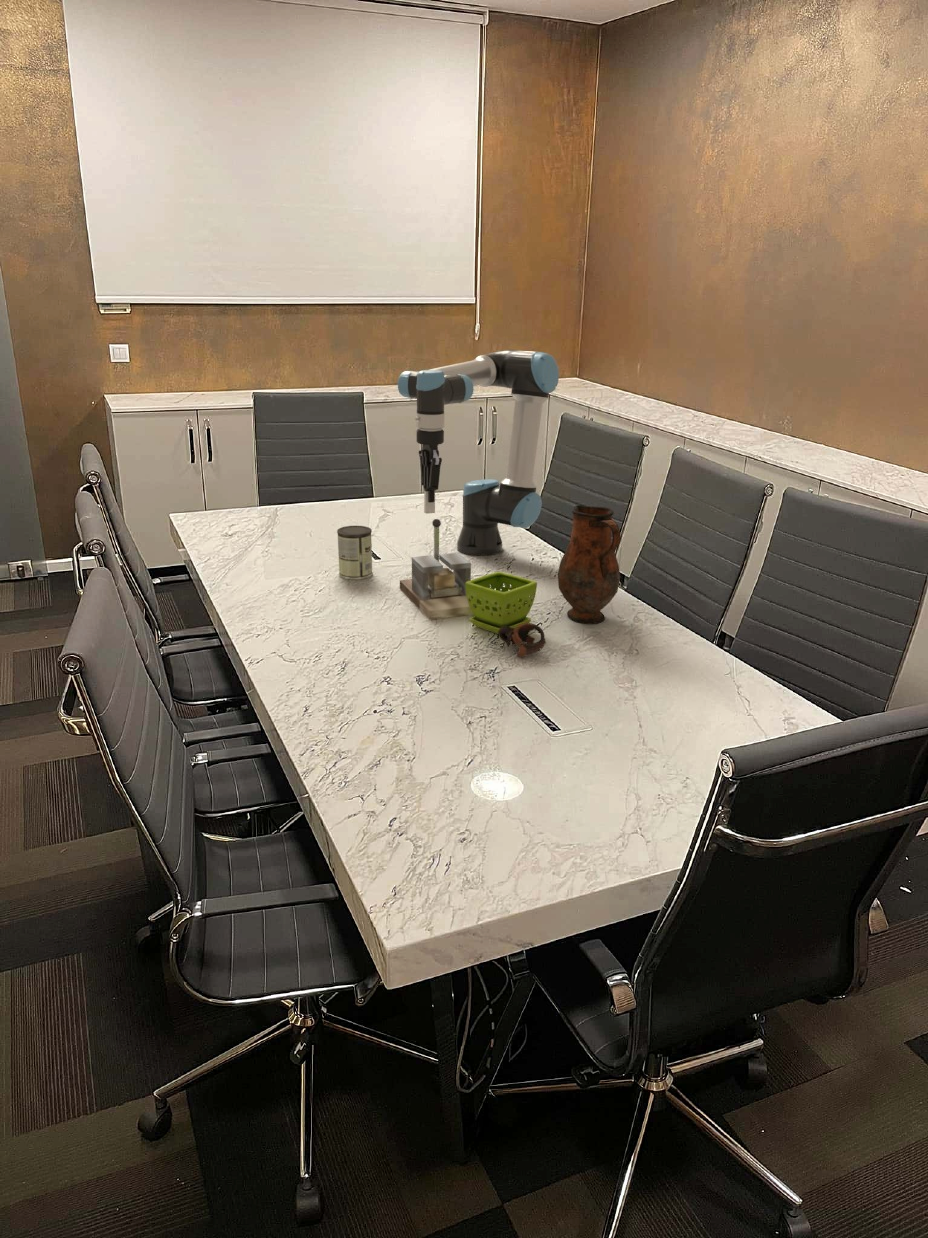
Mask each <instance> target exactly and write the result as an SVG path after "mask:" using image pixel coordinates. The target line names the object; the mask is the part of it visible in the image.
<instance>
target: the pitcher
mask: <svg viewBox="0 0 928 1238" xmlns="http://www.w3.org/2000/svg"><path fill="white" fill-rule="evenodd" d="M571 513H572V518H573V519H572V520H573V521H572V530H571V535H570V540H569V542H568V545H567V547H566V549H565V551H564V553H563V555H562V557H561V560H560V562H559V566H558V570H557V585H558V589H559V591H560V593H561V594H562V596H563V598H564V599H565V600H566V602H567V603H568V604H569V606H571V608H570V609H569V610H568V611H567V614H566V616H567V618H569V619H570V620H571V621H572V622H575V623H580V624H582V625H583V624H584V625H595V624H596V625H597V624H600V623H603V622H604V621H605V619H606V616H605V614H604V612H602V610H603V609H604V608H605V607H606V606H607V605H608V604H609V603H611V602H612V600H613V598H614V597H615V596H616V595H617V593H618V590H619V586H620V582H621V574H620V565H619V563H618V559H617V555H616V553H615V551H616V549H618V547H619V546H620V544H621V531H620V528H619V526H618V524H617V521H615V520H614V519H613V517H614V516H613V515H614V514H615V513H614V510H613V509H612V508H609V507H606V506H593V505H592V506H590V505H583V504H577V505H574V507H573V509H572V511H571Z"/></svg>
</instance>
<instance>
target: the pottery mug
mask: <svg viewBox="0 0 928 1238" xmlns="http://www.w3.org/2000/svg"><path fill="white" fill-rule="evenodd" d="M534 630H535V631H537V632H538V633H539V635H540V639H539V640H538V641H537V642H535V641H536V638H535V637H533V636H531V635H529V633H530V631H534ZM498 633H499V634H498V636H499V638H500V639H501V640H502V641H503V642H504V643H505V644H506V647H510V646H512V647H513V646H515V645H516V646H517V647H518V648H519V649H518V651H517V653H516V656H517V657H519V658H521V659H524V658H525V657H526V656H529V655H533V654H536V653H539V652H540V651H541V650H542V649H543V648H544V646H545V644H547V640H546V638H545V632H544V630H543V629H542V628H541V627H540V626H539V625H538V624H535V623H531V622H530V623H523V624H520V625H519V626H518V627H516V628H511V627H509V626H502V627H501V628H500V629H499V631H498ZM523 643H526V644H525V645H524V644H523Z"/></svg>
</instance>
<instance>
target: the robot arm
mask: <svg viewBox="0 0 928 1238" xmlns="http://www.w3.org/2000/svg"><path fill="white" fill-rule="evenodd" d="M559 377H560V370H559V366H558V363H557V361H556V359H555V358H554V356H552V354H549V353H546V352H541V351H529V350H528V351H527V350H515V349H504V350H499V351H495V352H490V353H485V354H480V355H479V356H477V357H475V358H474V359H473V360H469V361H463V362H460V363H453V364H450V365H444V366H440V367H435V368H430V369H422V370H420V371H415V370H405V371H403V372H401V374H400V375H399V377H398V379H397V390H398V393H399V394H400V395H401V396H402V397H404V398H408V399H410V400H413V399H415V400H416V416H415V418H414V420H415V421H416V427H417V430H416V443H417V444H419V445H422V446H421V450H418V456H419V465H420V468H419V469H420V480H421V481H420V482H421V483H420V484H421V486H423V494H424V497H423V498H424V500H423V502H424V505H423V508H424V509H423V512H424V513H425V515H427V514H435V513H436V491H438V490H439V485H440V474H441V465H442V463H443V462H442V461H443V458H442V457H440V452H439V445H442V444H443V443H444V442H445V431H444V429H443V428H445V406H446V405H452V404H462V403H464V402H467V401H469V400H470V399H471V398H472V396H473V394H474V387H476V386H480V387H483V388H487V387H500V388H506V389H511V392H510V396H511V397H512V398H513V399H514V400H515V401H514V408H513V416H512V424H511V433H510V438H509V439H510V440H509V447H508V448H509V449H508V456H507V457H508V458H507V466H506V473H505V478H503V479H502V480H501V481H499V480H498V479H494V478H489V479H477V480H471V481H468V482H466V483H465V484H464V485H463V491H462V493H463V494H462V527H461V530H460V533H459V536H458V539H457V542H456V544H457V545H456V549H457V550H458V552H459V553H461V554H462V553H463V554H466V555H470V556H472V555H473V556H492V555H495V554H498V553H501V552H502V551H503V541H502V537H501V534H500V530H499V524H501V525H506V526H510V527H513V528H519V529H521V528H522V529H526V528H529V527H531V526H532V525H533V524H534V523H535V522H536V521H537V519H538V518H539V516H540V513H541V510H542V506H543V505H542V504H543V501H542V498H541V495H540V494H539V493H537V485H536V483H535V482H534V481H533V479H534V478H533V477H534V473H535V472H534V471H535V464H536V457H537V449H538V443H539V442H538V441H539V434H540V426H541V419H542V412H543V404H544V403H545V402H546V401H548V400H549V394H551V393H553V392H554V391H555V390H556V387H557V386H558V384H559Z"/></svg>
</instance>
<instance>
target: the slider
mask: <svg viewBox="0 0 928 1238" xmlns="http://www.w3.org/2000/svg"><path fill="white" fill-rule="evenodd" d="M431 524H432V526H433V557H434V558H435V559H436V560H437V561H438V562H440V560H439V554H440V527H441V526H442V522H441V519H438V518H435V519H433V520H432V522H431ZM461 593H462V588H461V587H460V586H459V585H458V584H457V583H456V582H455V587H452V588H443V589H432V588H431V587H430V586H429V585H428V595H429V596H430V597H431V598H434V597H443V596H452V595H461Z"/></svg>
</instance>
